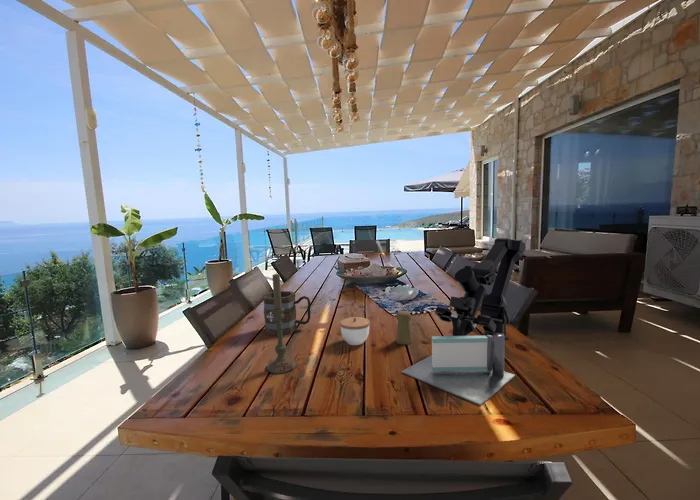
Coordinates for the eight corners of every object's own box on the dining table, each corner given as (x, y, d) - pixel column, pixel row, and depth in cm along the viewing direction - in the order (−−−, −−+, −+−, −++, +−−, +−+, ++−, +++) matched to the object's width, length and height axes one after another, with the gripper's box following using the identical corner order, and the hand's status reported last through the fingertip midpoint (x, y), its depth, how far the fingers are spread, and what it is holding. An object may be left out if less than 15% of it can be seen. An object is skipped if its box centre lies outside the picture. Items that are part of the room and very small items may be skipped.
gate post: (515, 376, 92) (515, 334, 91) (480, 405, 79) (480, 357, 78) (440, 352, 110) (440, 317, 109) (401, 372, 97) (401, 333, 96)
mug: (260, 336, 131) (257, 299, 129) (268, 325, 144) (266, 291, 143) (310, 334, 131) (308, 297, 129) (313, 323, 144) (312, 289, 142)
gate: (490, 368, 96) (491, 334, 95) (493, 371, 94) (493, 337, 93) (431, 368, 97) (431, 335, 96) (433, 372, 95) (433, 338, 94)
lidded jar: (373, 338, 125) (372, 313, 124) (365, 349, 115) (364, 323, 114) (346, 335, 128) (345, 312, 127) (336, 346, 118) (335, 320, 117)
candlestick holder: (270, 376, 98) (264, 276, 94) (263, 364, 106) (257, 271, 102) (300, 369, 102) (295, 272, 98) (291, 358, 110) (286, 268, 107)
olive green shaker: (412, 344, 117) (411, 314, 116) (395, 344, 118) (394, 314, 117) (412, 338, 123) (412, 309, 122) (396, 337, 124) (395, 309, 123)
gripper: (437, 282, 111) (417, 322, 105) (492, 290, 97) (473, 337, 91) (450, 300, 117) (432, 339, 111) (503, 310, 103) (486, 355, 97)
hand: (454, 342), depth 102 cm, fingers closed
